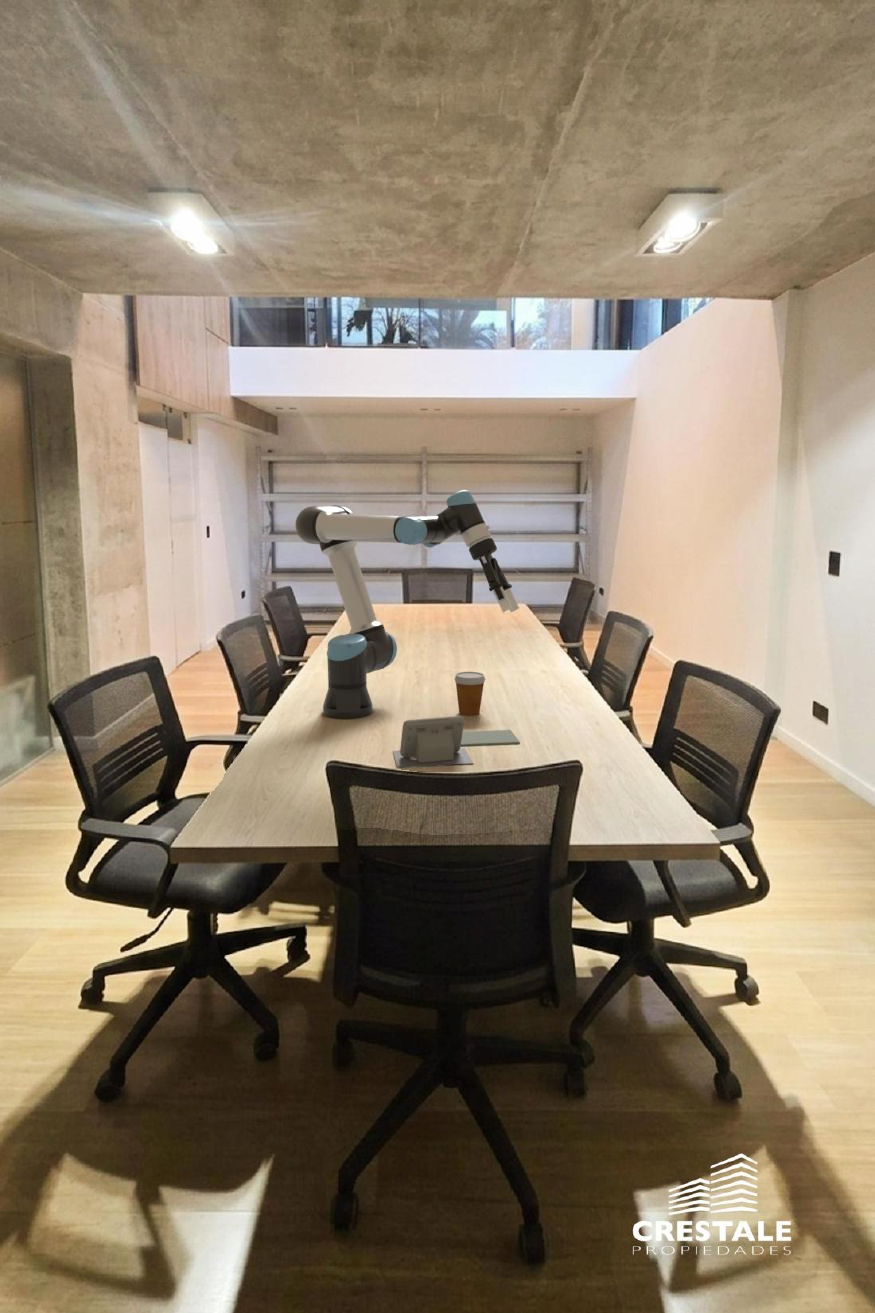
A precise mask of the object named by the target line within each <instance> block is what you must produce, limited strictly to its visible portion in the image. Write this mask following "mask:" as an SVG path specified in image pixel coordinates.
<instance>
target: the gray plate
mask: <svg viewBox="0 0 875 1313" xmlns="http://www.w3.org/2000/svg"><path fill="white" fill-rule="evenodd" d="M392 753H393V758H394V762H395V765H396V768H415V767H416V768H418V767H421V768H423V767H439V766H438V765H446V766H452V765H451V764H469V765H474V762H473V760H472V758H471V757H470V755H469V753H468V751H467V749H466V748H465V747H460V750H459V751H458V752H456V753H454V759H453V760H448V761H438V762H427V763H419V762H418V760H417V759H416V758H415V757H403V756H401V754H400V749H398V750H392Z"/></svg>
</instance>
